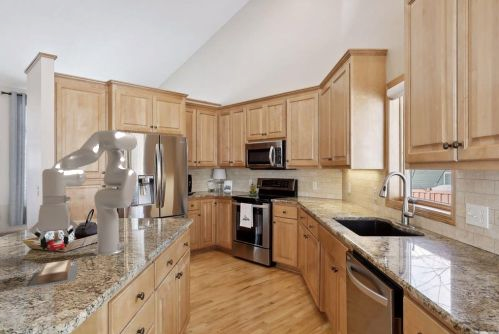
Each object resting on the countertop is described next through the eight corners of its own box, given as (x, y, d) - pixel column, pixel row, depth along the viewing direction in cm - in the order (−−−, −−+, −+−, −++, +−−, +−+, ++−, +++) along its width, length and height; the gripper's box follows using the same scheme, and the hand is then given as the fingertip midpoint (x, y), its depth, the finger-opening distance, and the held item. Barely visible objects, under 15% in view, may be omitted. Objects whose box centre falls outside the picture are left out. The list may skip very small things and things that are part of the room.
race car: (44, 247, 113) (43, 237, 113) (60, 244, 116) (60, 234, 116) (48, 254, 103) (48, 243, 103) (65, 251, 106) (65, 240, 106)
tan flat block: (70, 267, 118) (70, 259, 118) (67, 279, 105) (67, 270, 105) (44, 271, 114) (44, 263, 114) (37, 284, 101) (37, 275, 101)
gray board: (78, 266, 121) (78, 264, 121) (75, 282, 105) (75, 280, 105) (37, 272, 115) (37, 270, 115) (27, 290, 98) (27, 288, 98)
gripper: (81, 198, 117) (81, 242, 117) (28, 201, 109) (28, 248, 109) (80, 200, 110) (80, 246, 110) (24, 203, 102) (24, 253, 102)
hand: (54, 247), depth 110 cm, fingers closed on race car, 6 cm apart
